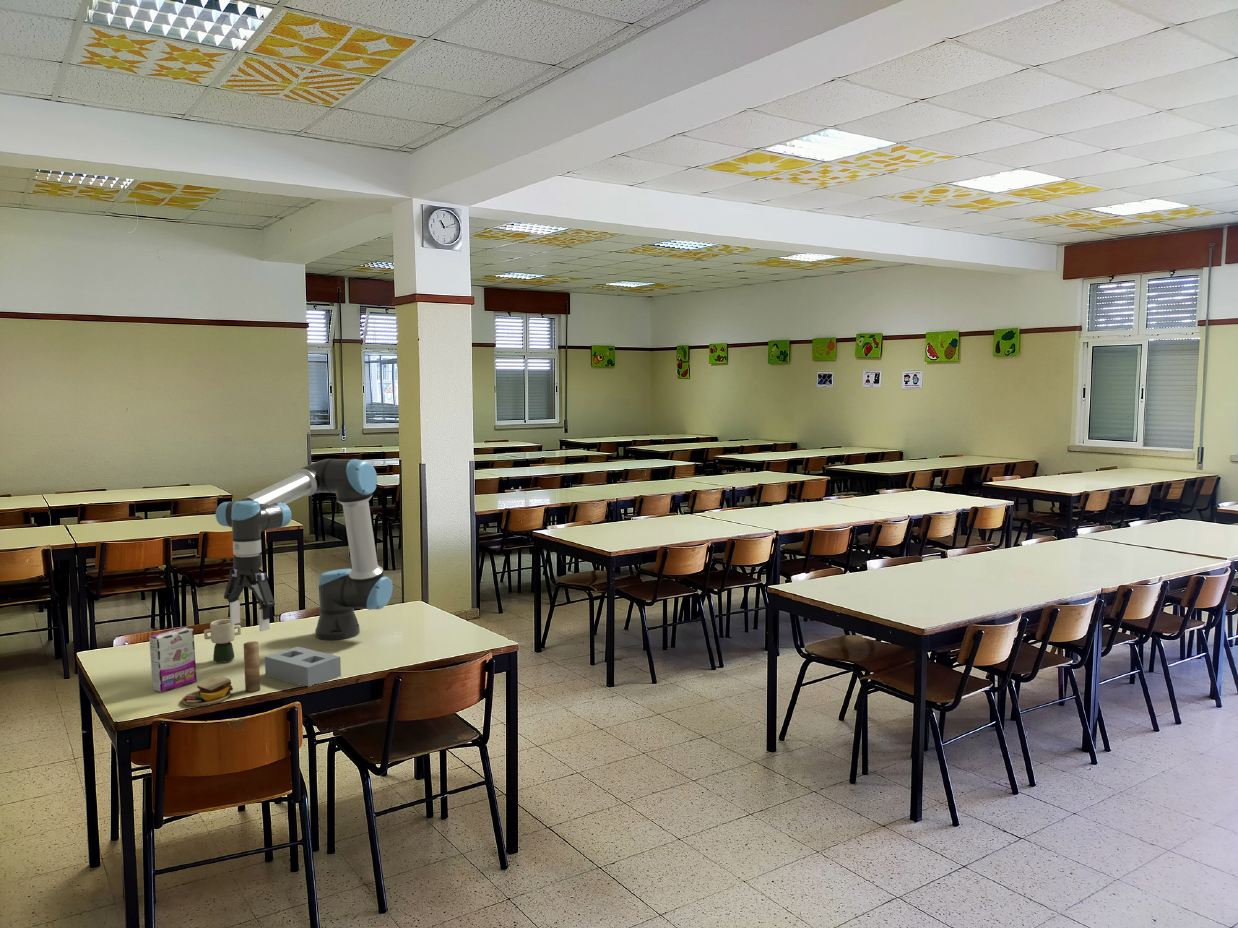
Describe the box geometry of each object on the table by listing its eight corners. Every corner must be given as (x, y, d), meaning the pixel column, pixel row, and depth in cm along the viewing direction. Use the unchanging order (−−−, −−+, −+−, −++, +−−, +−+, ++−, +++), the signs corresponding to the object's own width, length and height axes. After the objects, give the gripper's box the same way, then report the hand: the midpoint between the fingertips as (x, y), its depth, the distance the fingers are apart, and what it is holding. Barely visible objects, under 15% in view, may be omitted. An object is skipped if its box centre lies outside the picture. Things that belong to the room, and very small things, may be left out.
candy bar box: (187, 679, 260) (185, 626, 259) (197, 682, 258) (194, 628, 256) (151, 690, 251) (148, 635, 249) (160, 693, 248) (158, 637, 247)
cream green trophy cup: (240, 655, 283) (238, 616, 282) (243, 661, 277) (242, 621, 276) (204, 660, 278) (202, 621, 276) (206, 666, 272) (205, 626, 270)
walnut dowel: (242, 690, 250) (240, 644, 249) (254, 686, 253) (252, 640, 252) (251, 693, 248) (249, 646, 247) (263, 689, 251) (261, 642, 250)
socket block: (265, 675, 263) (264, 656, 263) (298, 664, 273) (297, 646, 273) (308, 687, 253) (307, 667, 252) (340, 675, 263) (340, 656, 262)
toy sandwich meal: (173, 701, 242) (173, 685, 242) (220, 688, 253) (220, 672, 253) (195, 711, 235) (194, 694, 234) (242, 697, 245) (241, 681, 245)
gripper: (209, 552, 250) (212, 623, 252) (263, 561, 237) (265, 636, 239) (232, 548, 257) (235, 617, 258) (286, 556, 244) (288, 629, 245)
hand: (249, 626), depth 249 cm, fingers open, 13 cm apart
